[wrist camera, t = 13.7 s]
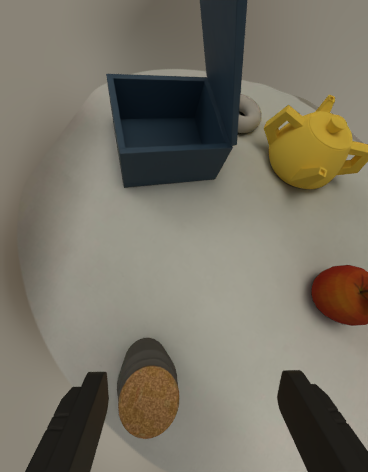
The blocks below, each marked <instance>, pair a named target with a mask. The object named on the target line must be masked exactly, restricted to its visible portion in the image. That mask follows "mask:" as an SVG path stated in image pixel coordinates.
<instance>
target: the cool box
mask: <svg viewBox="0 0 368 472" xmlns="http://www.w3.org/2000/svg"><path fill="white" fill-rule="evenodd" d="M106 76H107V82H108V89H109V96H110V103H111V110H112V117H113V123H114V129H115V135H116V142H117V148H118V154H119V160H120V166H121V172H122V179H123V185H124V188H125V187H136V186H147V185H158V184H169V183H179V182H190V181H201V180H212V179H215V178H216V177H217V175H218V173H219V171H220V169H221V168H222V166H223V164H224V162H225V161H226V159H227V157H228V155H229V153H230V152H231V150H232V148H233V147H232V146H231V143H230V141H229V138H228V135H227V132H226V129H225V126H224V123H223V121H222V118H221V115H220V112H219V109H218V106H217V104H216V101H215V98H214V95H213V92H212V89H211V86H210V84H209V81H208V78H207V77H181V76H153V75H124V74H123V75H122V74H106Z"/></svg>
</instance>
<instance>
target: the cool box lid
mask: <svg viewBox="0 0 368 472" xmlns="http://www.w3.org/2000/svg"><path fill="white" fill-rule="evenodd" d="M200 8H201V19H202V29H203V41H204V52H205V63H206V74H207V78H208V81H209V84H210V86H211V89H212V92H213V95H214V98H215V101H216V104H217V106H218V109H219V112H220V115H221V118H222V121H223V123H224V126H225V129H226V132H227V135H228V138H229V141H230V143H231V146H233V145H237V135H238V121H239V107H240V93H241V80H242V65H243V52H244V38H245V37H244V36H245V23H246V11H247V0H200Z"/></svg>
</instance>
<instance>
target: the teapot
mask: <svg viewBox="0 0 368 472" xmlns="http://www.w3.org/2000/svg"><path fill="white" fill-rule="evenodd" d="M334 102H335V97H334V96H331V95H329V96H328V97H327V98H326V99H325V101H324V102H323V103H322V104H321V105H320V107H319V108H318V109H317V110H316V112H314V113H310V114H307V115H305V116H301V115H300V114H299V113H298V112H297V111H295V110H294V109H293V108H292V107H291V106H290V105H288V106H286V107H285V108H284V109H283V110H281V111H280V112H279V113H277V114H276V115H275V116H274V117H272V118H271V119H270V120H268V121H267V122H266V124H265V127H264V131H265V134H266V137H267V140H268V143H269V159H270V163H271V166H272V168H273V170H274V171H275V173H276V174H277V175H278V176H279V177H280V178H281V179H282V180H283V181H284V182H286V183H288V184H290V185H292V186H294V187H298V188H303V189H316V188H320V187H323V186H324V185H326V184H327V183H329V182H330V181H331V180H332V179H333V178H334V177H335V176H336V175H343V174H352V173H358V172H359V171H360V169H361V168H362V167H363V166H364V165H365V164H366V163H367V162H368V144H363V143H359V142H354V141H352V134H351V131H350V129H349V127H348V126H347V122H346V121H345V120H344V118H342V117H341V116H339V115H334V114H331V113H330V111H331V109H332V106H333V104H334ZM286 121H288V122H289V123H288V124H286V125H285V126H284V127H282V128H281V129H280V130H279V129H278V128H279V127H280V126H281V125H282V124H283V123H284V122H286ZM348 154H350V155H355V156H354V157H353V158H352V159H351V160H346V158H347V156H348Z"/></svg>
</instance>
